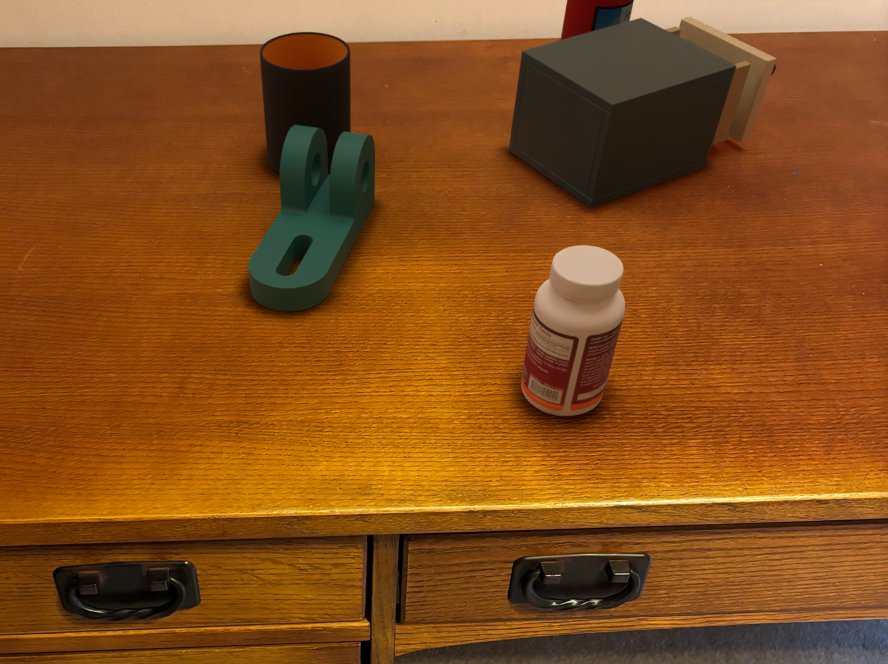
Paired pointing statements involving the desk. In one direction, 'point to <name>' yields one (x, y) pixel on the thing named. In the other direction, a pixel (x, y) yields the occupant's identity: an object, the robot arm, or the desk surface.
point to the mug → (305, 89)
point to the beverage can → (594, 15)
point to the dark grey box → (618, 109)
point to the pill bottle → (574, 331)
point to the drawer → (746, 79)
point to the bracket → (313, 218)
